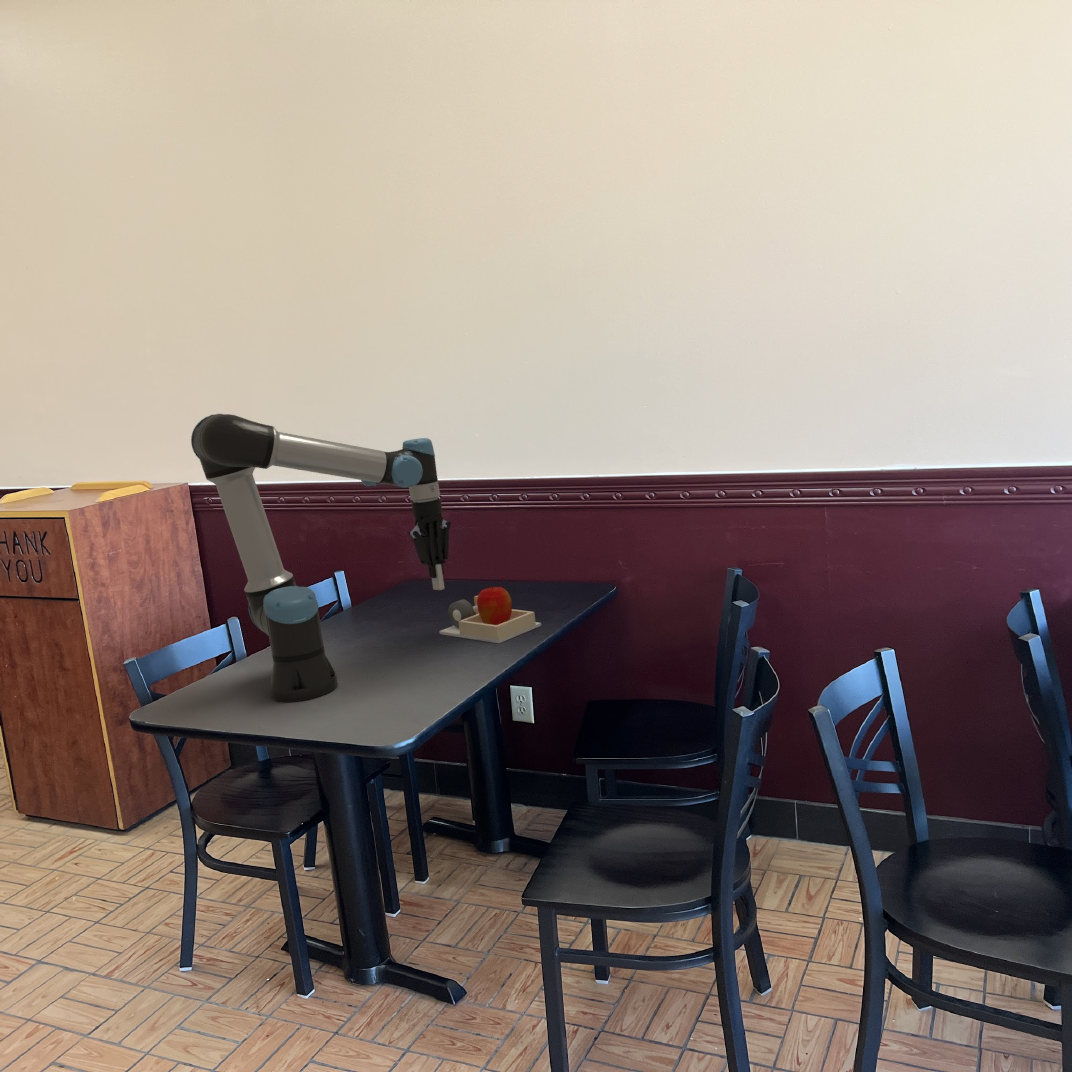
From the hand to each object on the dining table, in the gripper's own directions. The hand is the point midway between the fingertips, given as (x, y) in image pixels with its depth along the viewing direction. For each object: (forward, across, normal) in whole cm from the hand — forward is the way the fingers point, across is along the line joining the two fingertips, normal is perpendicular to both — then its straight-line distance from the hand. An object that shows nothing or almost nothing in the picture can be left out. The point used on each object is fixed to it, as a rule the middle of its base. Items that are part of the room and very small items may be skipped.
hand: (438, 589), depth 252 cm
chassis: (+13, +10, -7) cm, 18 cm away
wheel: (+12, +9, 0) cm, 15 cm away
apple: (+13, +9, -10) cm, 19 cm away
